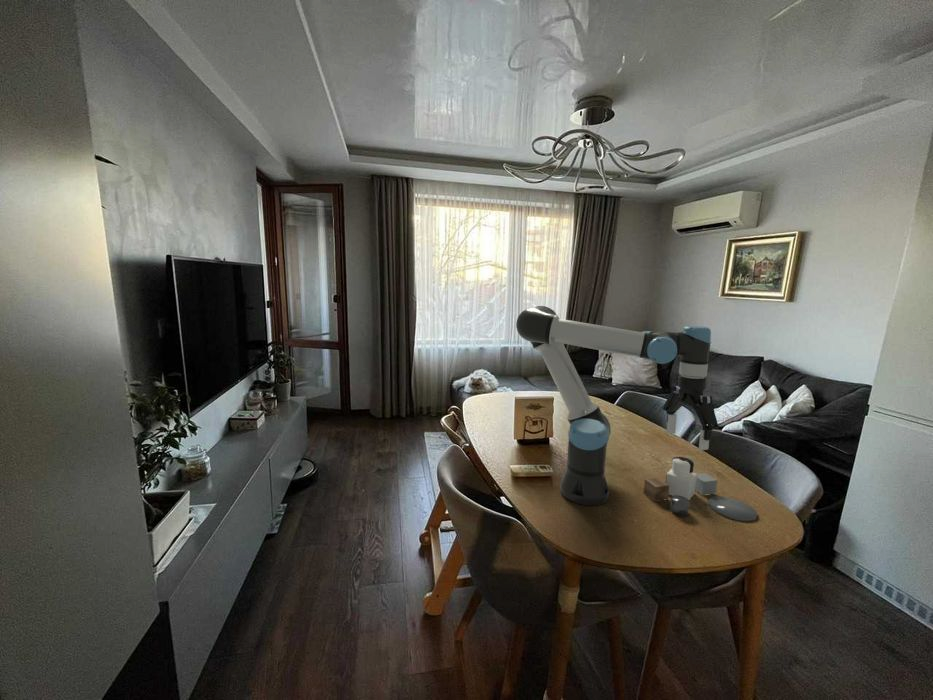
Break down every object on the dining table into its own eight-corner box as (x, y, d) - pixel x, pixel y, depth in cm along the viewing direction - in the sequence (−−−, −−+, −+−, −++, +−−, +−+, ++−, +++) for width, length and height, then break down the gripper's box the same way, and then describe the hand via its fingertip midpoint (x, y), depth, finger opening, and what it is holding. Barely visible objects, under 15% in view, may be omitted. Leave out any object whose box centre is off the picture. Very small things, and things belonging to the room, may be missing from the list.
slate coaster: (732, 523, 109) (733, 520, 109) (699, 500, 121) (699, 498, 121) (766, 518, 112) (767, 516, 112) (731, 497, 123) (731, 494, 123)
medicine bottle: (671, 485, 130) (675, 452, 128) (694, 494, 125) (698, 459, 123) (664, 493, 125) (667, 459, 123) (688, 502, 120) (692, 466, 118)
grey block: (702, 496, 124) (704, 481, 123) (690, 488, 129) (692, 474, 128) (715, 494, 125) (717, 480, 124) (703, 486, 130) (704, 473, 129)
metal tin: (677, 517, 112) (679, 505, 111) (665, 508, 117) (667, 496, 116) (692, 515, 113) (693, 503, 112) (679, 506, 118) (681, 494, 117)
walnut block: (653, 501, 120) (655, 486, 120) (643, 493, 125) (644, 479, 124) (667, 500, 121) (669, 485, 121) (656, 491, 126) (658, 477, 125)
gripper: (738, 385, 108) (730, 456, 111) (673, 367, 132) (668, 426, 135) (716, 386, 106) (708, 458, 109) (654, 368, 130) (649, 428, 133)
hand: (686, 440), depth 122 cm, fingers open, 13 cm apart
